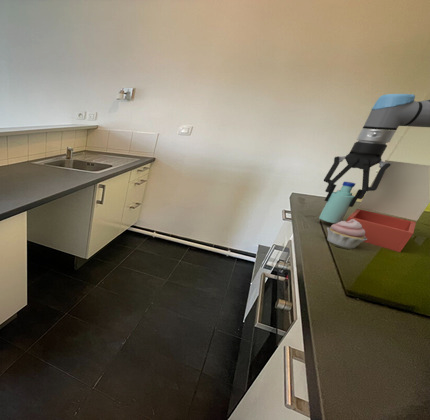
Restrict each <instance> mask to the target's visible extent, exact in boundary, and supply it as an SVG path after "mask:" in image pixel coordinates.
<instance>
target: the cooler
mask: <svg viewBox="0 0 430 420" xmlns="http://www.w3.org/2000/svg"><path fill="white" fill-rule="evenodd" d="M351 219H354V220H356V221H357V222H359V223H360V224H361V225H362V228H363V229H364V230H365V235H364V236H365V238H367V240H365V241H363V242H362V243H367V244H370V245H374V246H376V247H379V248H384V249H387V250H391V251H394V252H397V253H401V252H402V251H403V249H404V248H405V246H406V245H407V244H408V242H409V240H410V239H411V238H412V236H413V235H414V232H415V228H416V225H417V221H415V220H410V219H406V218H401V217H397V216H393V215H388V214H384V213H379V212H375V211H371V210H366V209H362V208H356V209H355V210H354V211H353V212H352V213H351V214H350V215H348V217H347V219H346V221H350V220H351Z"/></svg>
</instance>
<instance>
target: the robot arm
mask: <svg viewBox="0 0 430 420" xmlns="http://www.w3.org/2000/svg"><path fill="white" fill-rule="evenodd" d="M415 99H416V95H415V94H412V93H387V94H383V95H380V96H379V97H378V98H377V99H376V101H375V103H374V104H373V106H372V108H371V109H370V112H369V115H368V116H367V119H366V121H365V123H364V124H363V126H362V128H361V130H360V132H359V134H358V135H357V138H356V140H357V141H356V142H354V143H353V144H352V145H353V146H352V147H351V149H350V151H349V152H348V153H347V154H346V155H345V156H334V158H333V163H332V165H331V167H330V169H329V170H328V172H327V173H326V175H325V176H324V178H323V182H324V183H326V184H327V187H326V188H325V193H327V195H326V197H325V199H324V202H327V201H328V199H329V197H330V196H331V194H332V192H335V189H336V187H337V184H335V183H337V182H338V181H339V180H340V179H341V178H342V177H343V176H344V175H346V173H348V172H349V171H350V170H351V169H359V170H362V183H361V184H362V185H361V188H359V189H358V190H357V192H356V194H355V195H354V196H355V197H354V199H353V200H352V202H351V204H350V206H349V208H353V207H354V205H355V204H356V202H357V200H362V199H363V198H364V196H365V194H366V193H367V191H374V190H376V189H377V187H378V185H379V183H380V181H381V179H382V177H383V175H384V173H385V170H386V169H387V168H388V167H389V166H390V165H391V163H387V162H385V160H382V156H383V154H384V152H385V151H386V149H387V148H388V145H387V144H388V143H391V141H392V139H393V137H394V135H395V133H396V131H397V130H398V128H399V127H412V128H413V127H416V128H430V99H425V100H420V101H419V100H418V101H416V100H415ZM344 160H345V161H346V164H347V165H346V166H345V167H344V168H343V169H342V170H341V171H340V172H339V173H337V175H336V176H334V178H332V177H333V175H334V173H335V172H336V170H337V168H338V167H339V165H340V163H342V162H343V161H344ZM378 164H379V165H378ZM376 165H378V168H381V169H379V170H378V172H377V174H376V175H377V176H376V175H375V177H376V178H375V177H374V179H375V181H374V183H373V185H372V187H370V185H369V183H370V171H371V168H372V167H374V166H376ZM331 178H332V179H331Z"/></svg>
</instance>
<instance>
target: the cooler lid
mask: <svg viewBox="0 0 430 420" xmlns="http://www.w3.org/2000/svg"><path fill="white" fill-rule="evenodd" d="M384 162H387V163H391V165H390V166H389V167H388V168H387V169H386V170H385V173H384V175H383V177H382V179H381V181H380V183H379V185H378V187H377V189H376V190H374V191H367V192H366V194H365V195H364V197H363V198H362V199H361V200H360V203H359V205H358V206H357V209H361V210H366V211H370V212H374V213H379V214H383V215H387V216H392V217H396V218H401V219H405V220H409V221H414V222H418V220H419V219H420V218H421V216H422V214H423V213H424V212H425V210H426V208H427V207H428V206H429V205H430V165H427V164H420V163H413V162H405V161H404V162H403V161H395V160H388V159H385V160H384ZM379 168H380V167H379ZM380 169H381V168H380ZM380 169H379V170H380ZM376 176H377V174H376V175H375V177H374V179H373V180H372V182H371V184H370V185H369V187H372V185H373V183H374V181H375V178H376Z"/></svg>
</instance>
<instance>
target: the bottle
mask: <svg viewBox="0 0 430 420" xmlns="http://www.w3.org/2000/svg"><path fill="white" fill-rule="evenodd" d="M341 185H342V186H341V188H340V189H338V190H336V191H333V192H332V194H331V196H330V197H329V199H328V201H326V203H325V205H324V207H323V208H322V211H321V213H320V215H319V217H318V219H319V220H321V221H324V222H327V223H331V224H336V223H338V222H340V221H343V219H344V218H345V216H346V214H347V212H348V210H349V208H350V207H349V206H350V204H351V202H352V200H353V199H354V197H355V195H353V193H352V192H351V191H352V190H353V188H354V187H355V186H356V183H355V182H351V181H343V182H342V184H341Z"/></svg>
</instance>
